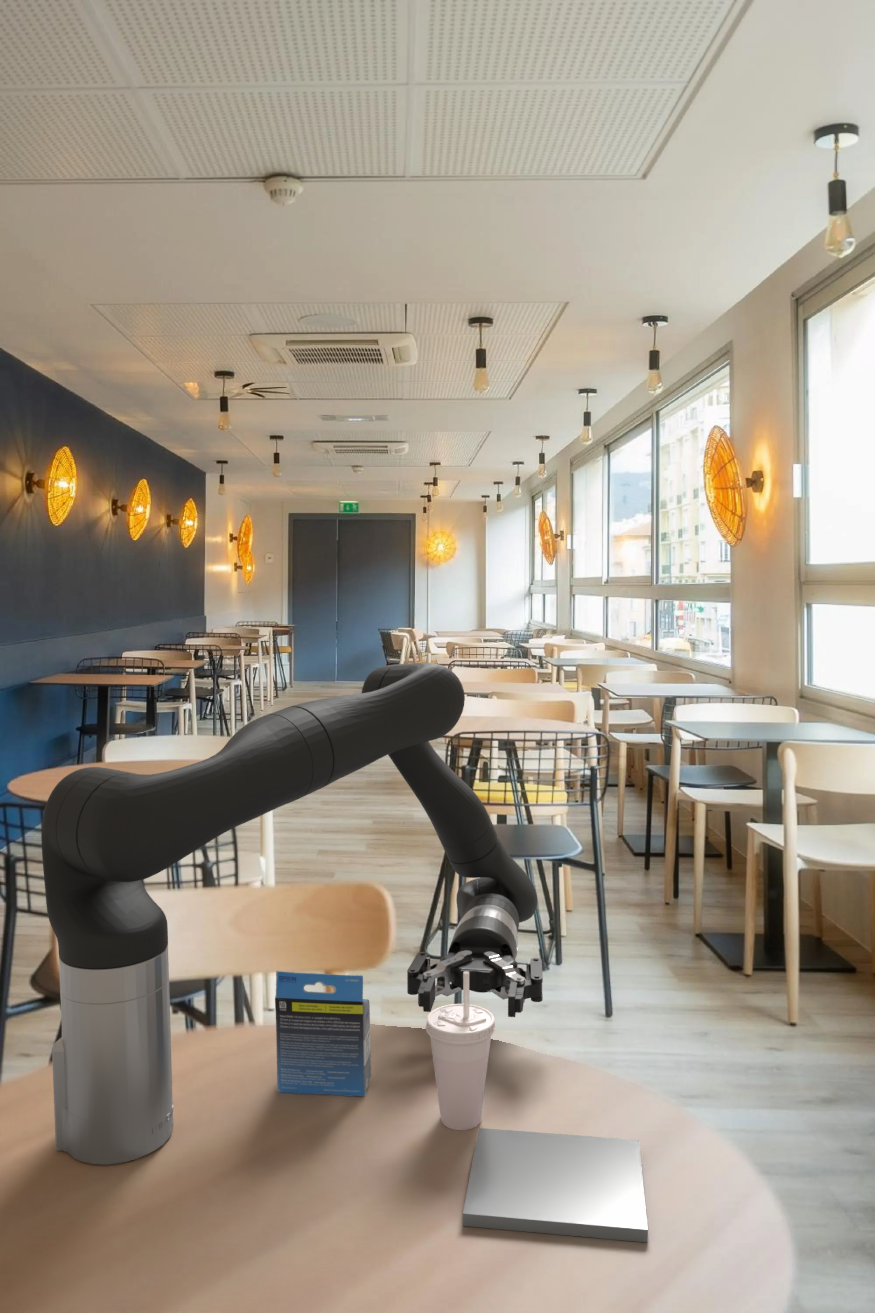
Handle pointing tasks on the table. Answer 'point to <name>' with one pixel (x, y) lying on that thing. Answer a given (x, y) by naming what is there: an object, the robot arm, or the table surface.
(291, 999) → the label tape box
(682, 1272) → the table surface
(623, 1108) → the table surface
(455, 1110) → the smoothie
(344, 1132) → the table surface
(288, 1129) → the table surface
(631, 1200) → the metal board
